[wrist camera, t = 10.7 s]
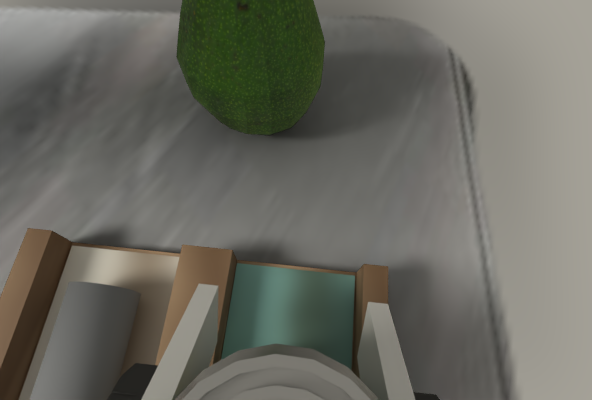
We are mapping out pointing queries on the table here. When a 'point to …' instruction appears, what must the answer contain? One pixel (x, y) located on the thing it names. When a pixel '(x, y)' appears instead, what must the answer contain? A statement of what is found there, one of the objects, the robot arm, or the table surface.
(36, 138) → the table surface
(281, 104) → the avocado
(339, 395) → the beer can
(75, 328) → the smooth gray cylinder
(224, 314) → the caddy
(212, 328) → the robot arm
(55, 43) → the table surface
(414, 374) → the table surface
